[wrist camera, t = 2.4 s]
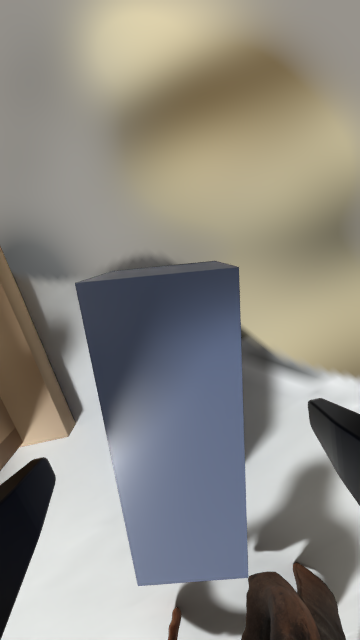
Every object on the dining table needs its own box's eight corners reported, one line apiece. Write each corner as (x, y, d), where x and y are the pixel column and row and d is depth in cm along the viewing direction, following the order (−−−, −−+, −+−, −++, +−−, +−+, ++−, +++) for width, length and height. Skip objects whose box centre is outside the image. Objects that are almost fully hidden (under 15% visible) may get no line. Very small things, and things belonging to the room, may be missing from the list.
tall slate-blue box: (226, 478, 13) (248, 577, 9) (149, 485, 13) (138, 585, 9) (214, 261, 10) (238, 267, 6) (114, 270, 10) (74, 283, 6)
